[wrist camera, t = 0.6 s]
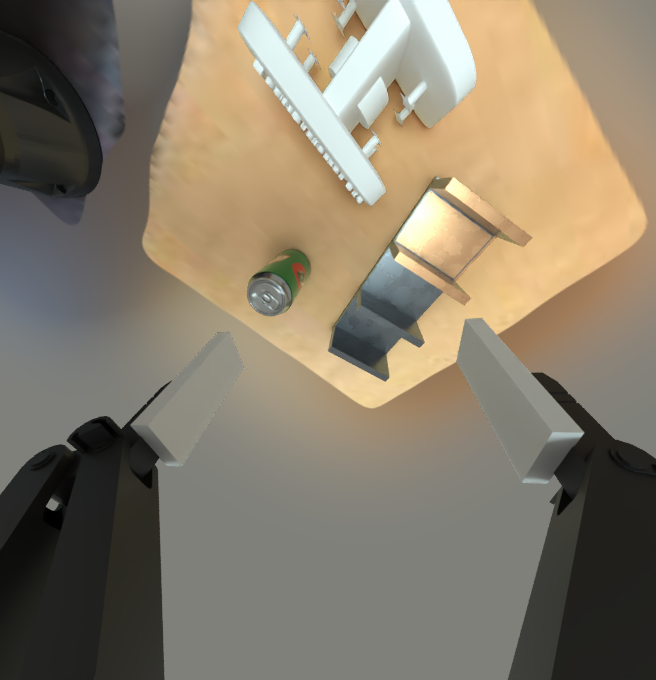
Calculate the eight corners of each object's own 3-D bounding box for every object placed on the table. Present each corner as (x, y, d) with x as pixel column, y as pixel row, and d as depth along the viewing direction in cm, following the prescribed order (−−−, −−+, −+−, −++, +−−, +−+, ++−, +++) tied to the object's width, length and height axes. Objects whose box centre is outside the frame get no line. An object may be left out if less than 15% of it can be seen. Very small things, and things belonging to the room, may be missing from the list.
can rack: (332, 328, 40) (326, 353, 34) (435, 177, 27) (455, 174, 21) (382, 355, 42) (386, 384, 36) (501, 226, 29) (537, 237, 23)
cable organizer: (444, 126, 25) (494, 88, 15) (365, 204, 30) (365, 213, 20) (351, -41, 20) (340, -249, 11) (274, 85, 25) (218, 21, 15)
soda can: (292, 240, 33) (261, 264, 23) (318, 267, 35) (299, 300, 25) (270, 265, 35) (234, 296, 25) (295, 289, 37) (270, 327, 27)
